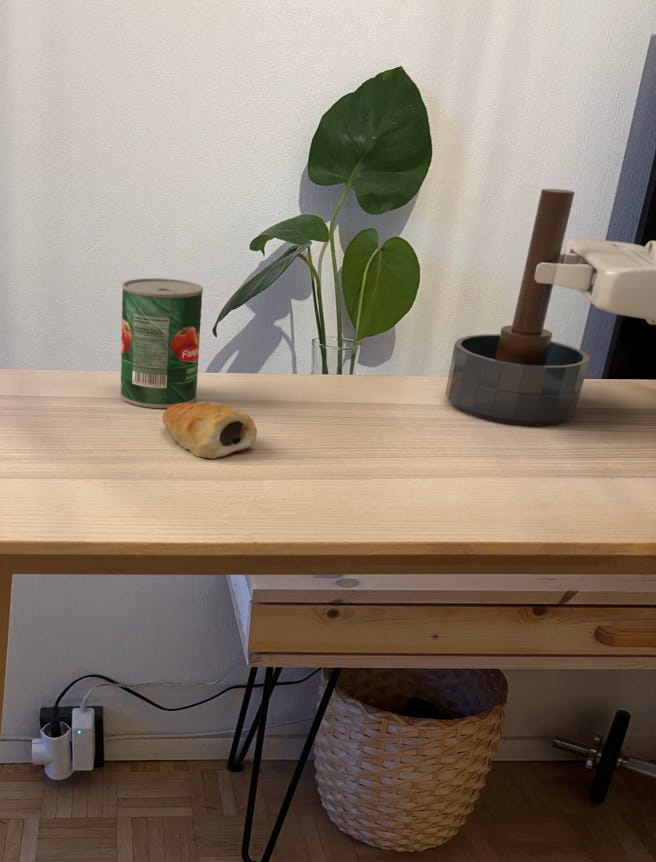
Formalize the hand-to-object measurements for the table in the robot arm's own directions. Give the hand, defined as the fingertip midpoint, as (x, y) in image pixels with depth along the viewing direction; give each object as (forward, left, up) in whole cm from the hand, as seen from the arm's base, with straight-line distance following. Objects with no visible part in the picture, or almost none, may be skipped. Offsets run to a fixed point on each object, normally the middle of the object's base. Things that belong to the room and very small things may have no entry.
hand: (531, 267), depth 94 cm
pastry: (+2, +36, -14) cm, 38 cm away
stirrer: (-1, -1, -9) cm, 9 cm away
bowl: (-1, 0, -14) cm, 14 cm away
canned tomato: (+16, +33, -14) cm, 39 cm away
